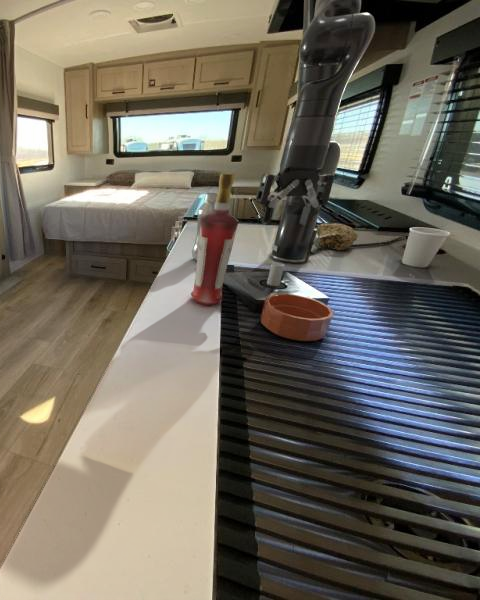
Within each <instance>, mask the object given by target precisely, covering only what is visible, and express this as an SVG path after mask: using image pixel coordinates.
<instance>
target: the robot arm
mask: <svg viewBox="0 0 480 600" xmlns="http://www.w3.org/2000/svg"><path fill="white" fill-rule="evenodd" d="M303 1H304V2H303V23H302V24H303V25H302V37H301V41H300V44H299V47H298V59H299V64H298V74H297V90H296V91H297V92H296V105H295V108H294V113H293V118H292V120H291V123H290V125H289V127H288V128H289V129H288V131H287V135H286V138H285V143H284V147H283V150H282V155H281V159H280V164H279V171H278V173H277V174H271V173H263V174H262V176H261V179H260V183H259V186H258V189H257V193H256V195H255V196H256V197H255V199H254V200H255V203H257V204H259V205H261V206H262V210H261V215H260V222H261V224H262V225H264V226H270V225H271V222H272V219H273V215H274V214H273V213H274V210H275V208H274V207H275V205H277V204H278V203H279V202H280V201H281V200H283V199H284V198H285V200H284V203H283V208H282V212H281V216H280V219H279V224H278V227H277V231H276V234H275V239H274V243H272V244H271V245H272V246H271V250H272V251H271V254H270V257H271V259H273V260H275V261H278V262H281V263H282V262H283V263H289V264H302V263H305V262H308V261H309V259H310V256H311V255H316V254H317V253H318V252H319V251H321V250H329V249H331V250H332V248H331V247H328V246H319V247H317V248H316V249H314V250H312V249H313V246H314V243H315V240H316V237H317V235H318V234H317V229H316V226H317V222H318V218H319V215H320V211H321V208H322V205H323V206H325V205H327V204H328V202H329V199H330V195H331V193H332V192H331V191H332V187H333V185H334V184H333V183H334V179H335V174H336V171H337V169H338V167H339V163H340V159H341V155H342V149H341V145H340V144H339V142H337V141H334V140H332V137H333V135H334V134H333V133H334V129H335V123H336V118H337V115H338V111H339V108H340V105H341V100H342V98H343V95H344V92H345V89H346V87H347V85H348V82H349V81H350V78H351V76H352V75H353V72H354V71H355V69H356V67H357V65H358V64H359V62H360V60H361V59H362V57H363V55H364V53H366V50H367V49H368V47H369V45H370V43H371V41H372V39H373V37H374V34H375V31H376V21H375V17H374V15H372V14H371V13H369V12H361V9H362V8H361V7H362V0H303ZM274 184H276V186H275V187H274V189H273V190H272V191H271V189H272V186H274ZM398 237H399V236H398ZM404 237H405V238H406V239H408V237H409V234H408V236H403V237H399V238H396V237H395V238H396V239H394V240H391V239H390V240H391V241H387V240H383V241H384V242H383V241H377V242H367V243H355V244H354V243H353V244H352V245H351V246H350V247H349V248H361V247H372V246H379V245H386V244H390V243H394V242H396V241H398V240H401V239H402V238H404ZM385 241H387V242H385ZM380 242H381V243H380Z"/></svg>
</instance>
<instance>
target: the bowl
mask: <svg viewBox="0 0 480 600" xmlns="http://www.w3.org/2000/svg"><path fill="white" fill-rule="evenodd" d="M334 314H335V313H334V311H333V309H332V308H331V307H330V306H329V305H328V304H327V305H325V304H324V303H322V302H320V301H317V300H315V299H312V298H309V297H305V296H301V295H294V294H273V295H270V296H268V297H267V298H266V299H265V302H264V306H263V310H262V312H261V313H260V317H259V319H260V323H261V324H262V326H264V327H265V328H266V329H267V330H269V331H270V332H271V333H272V334H275V335H276V336H278V337H281V338H285V339H288V340H293V341H298V342H312V341H315V342H316V341H318V340H321V339H324V338H325V337H326V335H327V333H328V331H329V328H330V325H331V322H332V320H333V316H334Z"/></svg>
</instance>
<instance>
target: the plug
mask: <svg viewBox="0 0 480 600" xmlns="http://www.w3.org/2000/svg"><path fill="white" fill-rule="evenodd" d="M284 269H285V264H284V263H282V262H276V261H275V262H272V263H271V265H270V269H269V272H270V273H269V276H268V280H264V281H262V282H261V285H262V286H264V287H268V288H272V289H284V288H285V285H284V284H282V283H280V280H281V277H282V273H283V271H284Z"/></svg>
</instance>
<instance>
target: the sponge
mask: <svg viewBox="0 0 480 600" xmlns="http://www.w3.org/2000/svg"><path fill="white" fill-rule="evenodd" d="M316 230H317V234H316V235H317V236H318V237H317V242H318V244H320V247H323V246H328V247H331V249H333V250H335V251H343V250H346V249H349V248H351V247H350V246H351V245H352V244H354V243H355V241H357V239H358V236H359V234H358V233H357V231H356V230H354V228H353V227H351V226H349V225H346V224H343V223H339V222H333V223H331V222H330V223H327V222H325V223H321V224H319V225H318V226H317V228H316Z"/></svg>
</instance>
